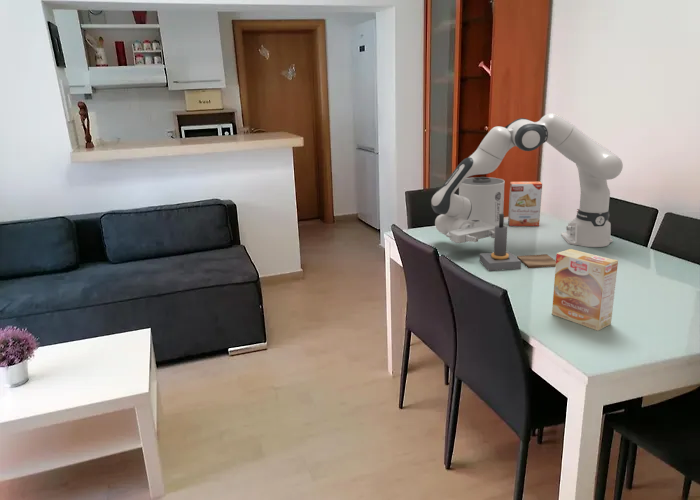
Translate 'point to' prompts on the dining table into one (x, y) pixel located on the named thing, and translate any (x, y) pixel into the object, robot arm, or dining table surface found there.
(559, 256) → the coffeecake box
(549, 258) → the pad
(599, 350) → the dining table surface
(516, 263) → the socket block
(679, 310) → the dining table surface
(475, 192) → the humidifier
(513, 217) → the cracker box
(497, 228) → the plug
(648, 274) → the dining table surface
